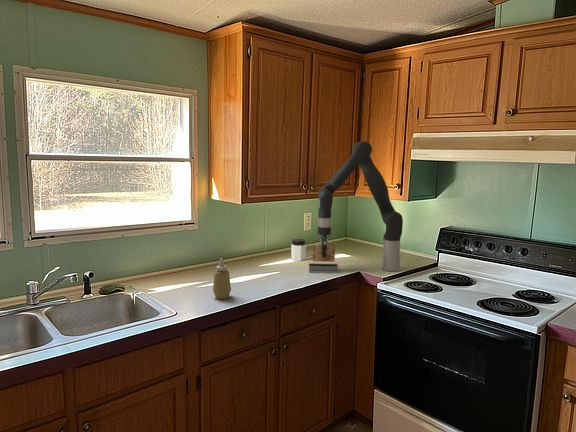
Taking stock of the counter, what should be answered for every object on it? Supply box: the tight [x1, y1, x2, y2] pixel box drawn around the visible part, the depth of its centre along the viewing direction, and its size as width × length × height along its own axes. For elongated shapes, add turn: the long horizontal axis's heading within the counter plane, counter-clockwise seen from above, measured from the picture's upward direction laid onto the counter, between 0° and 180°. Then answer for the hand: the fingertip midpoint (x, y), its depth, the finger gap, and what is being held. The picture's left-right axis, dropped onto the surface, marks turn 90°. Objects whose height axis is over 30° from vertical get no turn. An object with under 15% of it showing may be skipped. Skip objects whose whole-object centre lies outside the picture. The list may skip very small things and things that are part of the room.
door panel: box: [312, 243, 336, 263], centre depth 235 cm, size 12×3×9 cm, turn 88°
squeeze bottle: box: [212, 257, 232, 300], centre depth 191 cm, size 8×8×18 cm
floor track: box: [308, 262, 340, 274], centre depth 236 cm, size 16×9×3 cm, turn 88°
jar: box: [290, 238, 307, 262], centre depth 260 cm, size 9×8×12 cm
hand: (323, 256), depth 235 cm, fingers closed on door panel, 3 cm apart
